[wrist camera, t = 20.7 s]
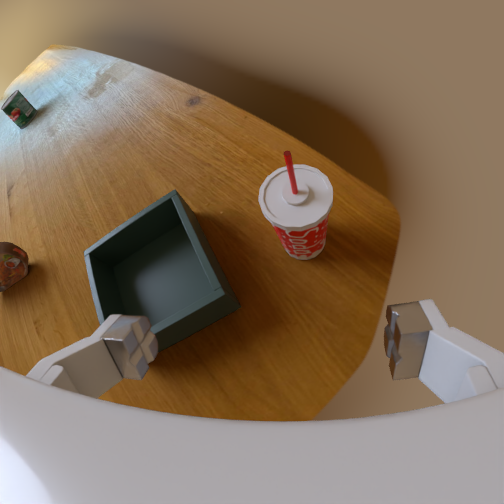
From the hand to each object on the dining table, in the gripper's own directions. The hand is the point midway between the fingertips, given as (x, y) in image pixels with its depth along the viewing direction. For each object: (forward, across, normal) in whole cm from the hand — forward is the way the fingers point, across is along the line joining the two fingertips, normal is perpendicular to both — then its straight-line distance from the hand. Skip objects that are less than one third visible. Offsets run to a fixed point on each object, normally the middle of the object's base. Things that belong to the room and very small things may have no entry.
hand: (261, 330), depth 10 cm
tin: (+22, +49, +7) cm, 54 cm away
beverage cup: (+23, -1, +6) cm, 23 cm away
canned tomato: (+60, +79, -30) cm, 103 cm away
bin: (+20, +15, +8) cm, 26 cm away
